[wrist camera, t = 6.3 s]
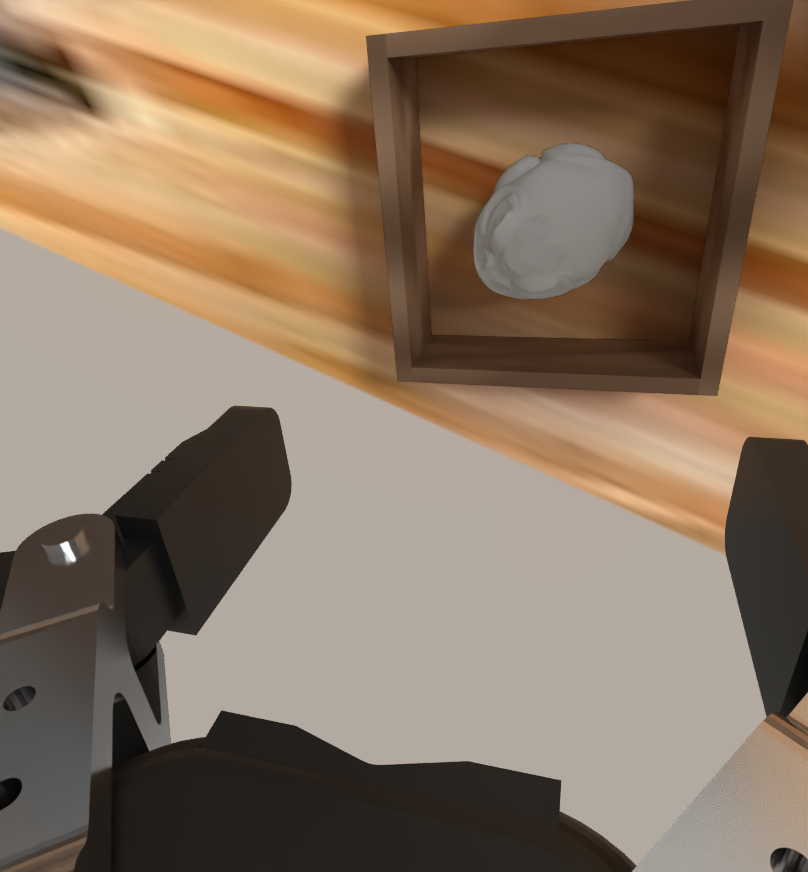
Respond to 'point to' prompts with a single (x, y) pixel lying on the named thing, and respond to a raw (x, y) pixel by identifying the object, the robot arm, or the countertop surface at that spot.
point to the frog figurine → (553, 222)
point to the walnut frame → (726, 233)
